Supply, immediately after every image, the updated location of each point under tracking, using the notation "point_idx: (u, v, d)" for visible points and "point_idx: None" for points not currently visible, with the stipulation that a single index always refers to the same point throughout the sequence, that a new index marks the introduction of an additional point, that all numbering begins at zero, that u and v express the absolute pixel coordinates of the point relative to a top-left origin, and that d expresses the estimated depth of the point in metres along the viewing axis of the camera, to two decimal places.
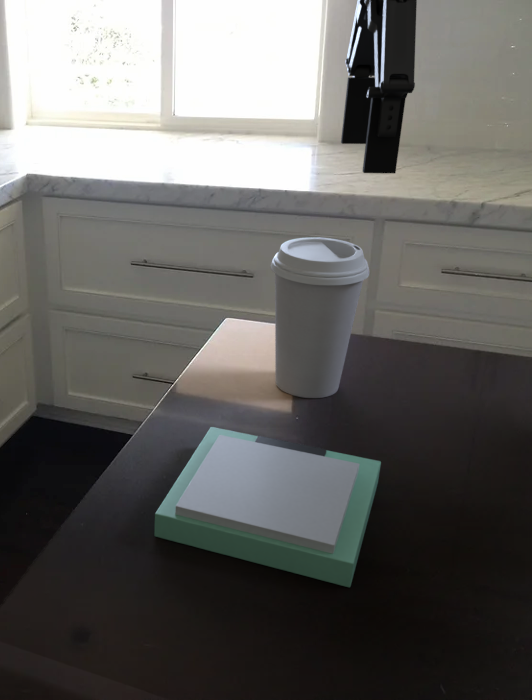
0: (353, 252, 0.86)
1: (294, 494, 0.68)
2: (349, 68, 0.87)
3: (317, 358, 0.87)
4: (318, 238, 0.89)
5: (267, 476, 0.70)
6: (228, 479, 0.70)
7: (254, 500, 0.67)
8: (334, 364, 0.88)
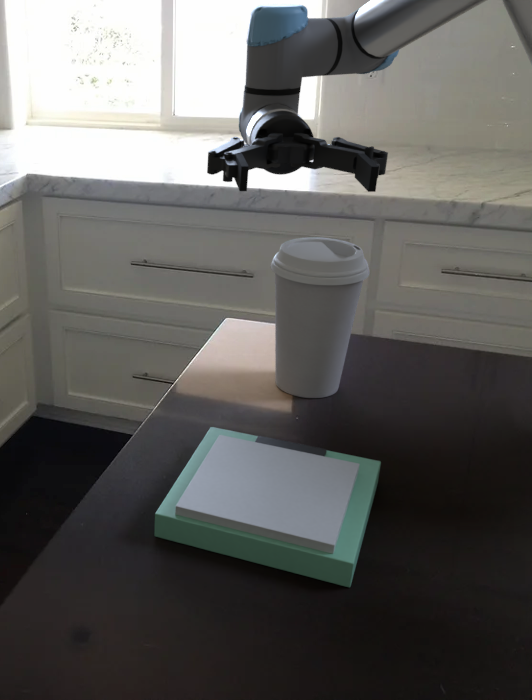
0: (353, 252, 0.86)
1: (294, 494, 0.68)
2: None
3: (317, 358, 0.87)
4: (318, 238, 0.89)
5: (267, 476, 0.70)
6: (228, 479, 0.70)
7: (254, 500, 0.67)
8: (334, 364, 0.88)
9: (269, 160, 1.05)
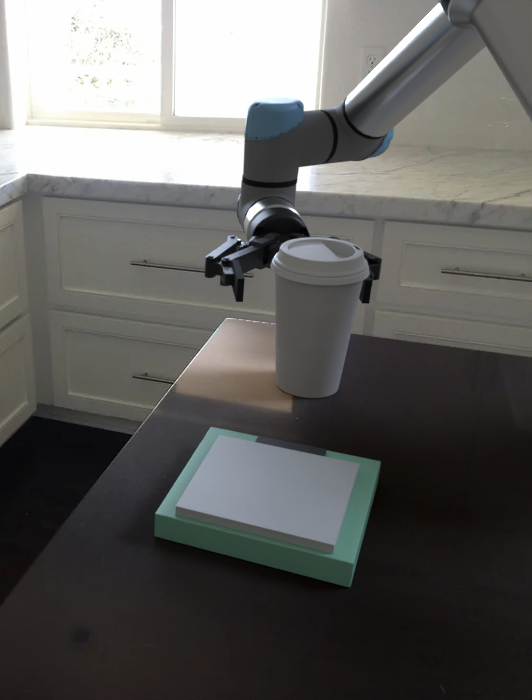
0: (353, 252, 0.86)
1: (294, 494, 0.68)
2: None
3: (317, 358, 0.87)
4: (318, 238, 0.89)
5: (267, 476, 0.70)
6: (228, 479, 0.70)
7: (254, 500, 0.67)
8: (334, 364, 0.88)
9: (266, 260, 1.06)
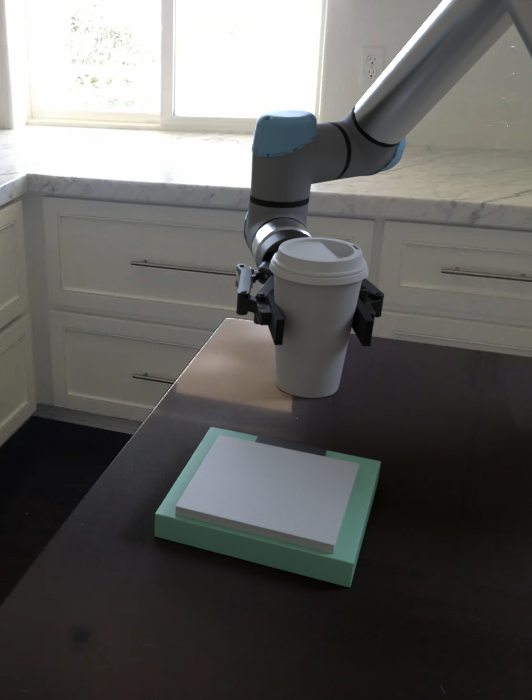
0: (352, 252, 0.86)
1: (294, 494, 0.68)
2: None
3: (316, 358, 0.87)
4: (317, 238, 0.89)
5: (267, 476, 0.70)
6: (228, 479, 0.70)
7: (254, 500, 0.67)
8: (334, 364, 0.88)
9: None
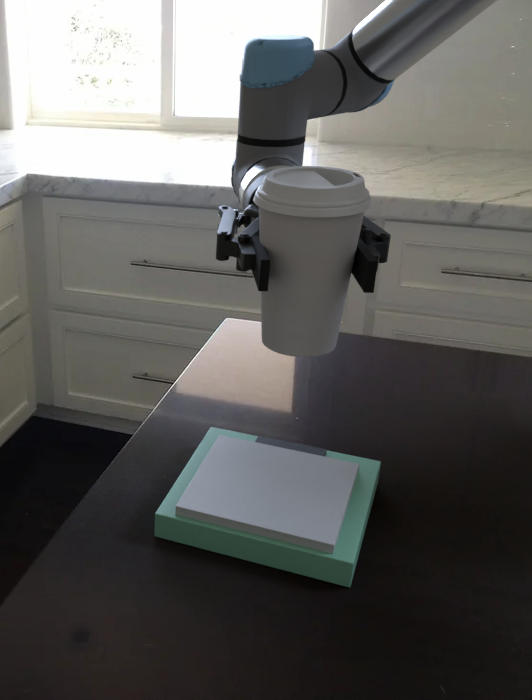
0: (352, 180, 0.72)
1: (294, 494, 0.68)
2: None
3: (309, 309, 0.73)
4: (311, 167, 0.75)
5: (267, 476, 0.70)
6: (228, 479, 0.70)
7: (254, 500, 0.67)
8: (330, 316, 0.74)
9: None
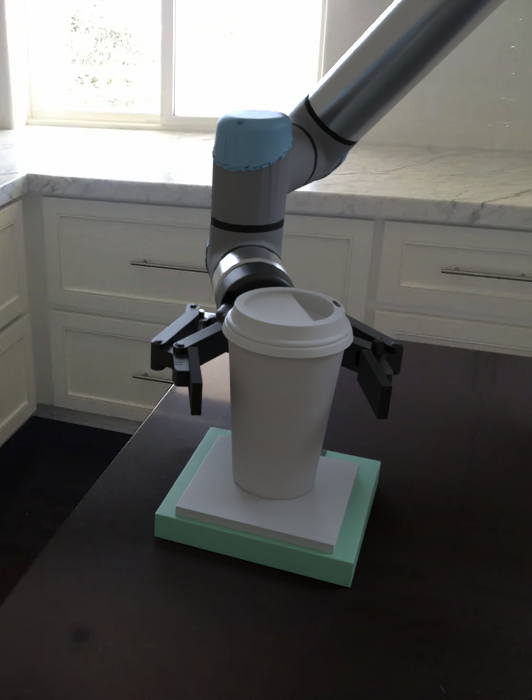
0: (331, 309, 0.64)
1: None
2: None
3: (284, 450, 0.65)
4: (286, 288, 0.67)
5: None
6: (228, 479, 0.70)
7: (254, 500, 0.67)
8: (307, 456, 0.66)
9: None
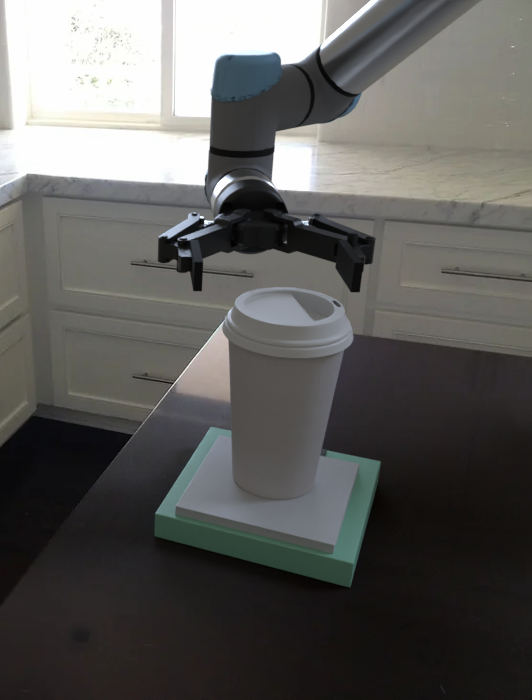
0: (332, 309, 0.64)
1: None
2: None
3: (284, 450, 0.65)
4: (286, 288, 0.67)
5: None
6: (228, 479, 0.70)
7: (254, 500, 0.67)
8: (307, 456, 0.66)
9: (234, 242, 0.87)
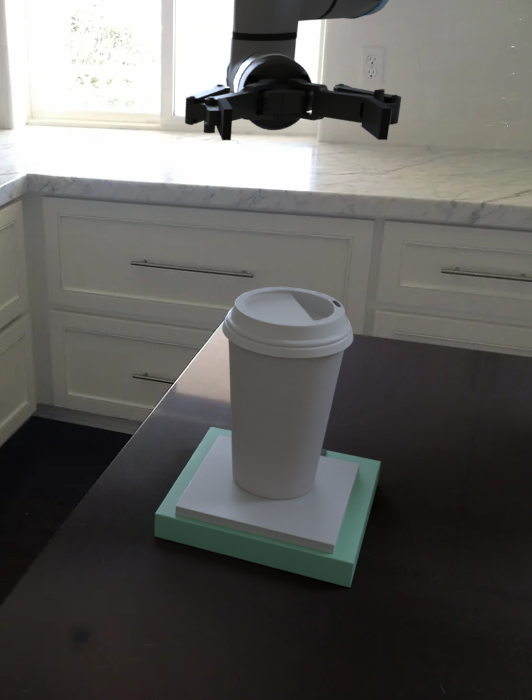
0: (332, 309, 0.64)
1: None
2: None
3: (284, 450, 0.65)
4: (286, 288, 0.67)
5: None
6: (228, 479, 0.70)
7: (254, 500, 0.67)
8: (307, 456, 0.66)
9: (259, 110, 0.88)
